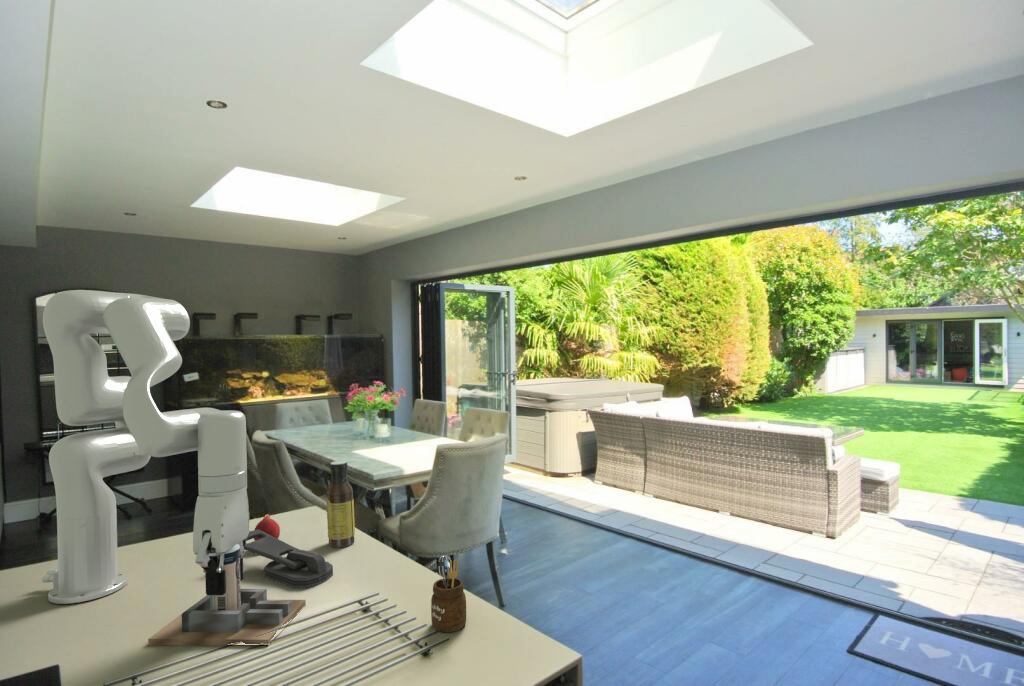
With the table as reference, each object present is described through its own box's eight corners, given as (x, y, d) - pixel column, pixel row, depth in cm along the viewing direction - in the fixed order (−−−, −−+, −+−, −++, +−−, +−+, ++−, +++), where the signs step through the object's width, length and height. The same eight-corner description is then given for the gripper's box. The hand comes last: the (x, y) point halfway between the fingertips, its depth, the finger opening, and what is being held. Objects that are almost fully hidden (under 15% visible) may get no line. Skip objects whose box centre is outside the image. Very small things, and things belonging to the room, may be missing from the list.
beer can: (246, 610, 98) (245, 541, 98) (220, 621, 94) (218, 550, 94) (231, 603, 101) (229, 537, 101) (204, 615, 97) (203, 545, 97)
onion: (273, 552, 131) (273, 518, 131) (249, 553, 131) (248, 519, 131) (284, 544, 137) (283, 511, 137) (260, 544, 137) (260, 511, 137)
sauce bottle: (338, 538, 140) (336, 458, 140) (360, 540, 138) (358, 459, 138) (322, 547, 134) (320, 463, 134) (344, 549, 132) (342, 465, 132)
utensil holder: (458, 613, 99) (457, 545, 99) (472, 628, 94) (471, 556, 94) (426, 621, 96) (425, 551, 97) (439, 637, 91) (437, 563, 91)
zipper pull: (258, 527, 129) (339, 543, 118) (259, 556, 129) (339, 574, 118) (223, 539, 121) (305, 558, 110) (223, 570, 121) (306, 591, 110)
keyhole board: (148, 645, 91) (147, 620, 91) (201, 604, 105) (200, 583, 105) (268, 645, 90) (268, 620, 90) (305, 605, 104) (305, 583, 104)
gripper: (229, 471, 106) (231, 567, 106) (169, 495, 89) (172, 610, 89) (268, 471, 106) (270, 567, 106) (215, 495, 89) (217, 610, 89)
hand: (225, 586), depth 97 cm, fingers closed on beer can, 4 cm apart
